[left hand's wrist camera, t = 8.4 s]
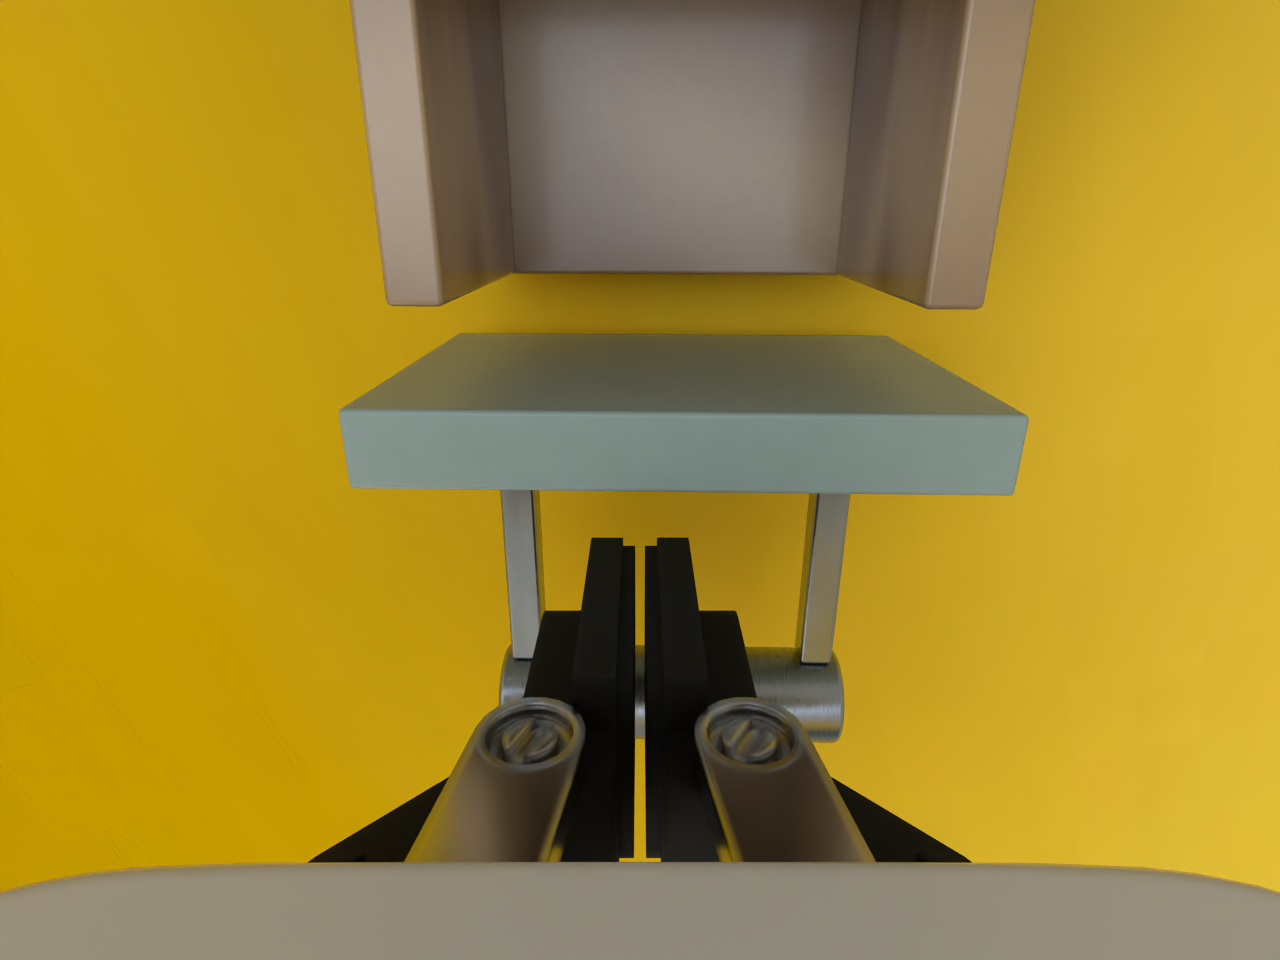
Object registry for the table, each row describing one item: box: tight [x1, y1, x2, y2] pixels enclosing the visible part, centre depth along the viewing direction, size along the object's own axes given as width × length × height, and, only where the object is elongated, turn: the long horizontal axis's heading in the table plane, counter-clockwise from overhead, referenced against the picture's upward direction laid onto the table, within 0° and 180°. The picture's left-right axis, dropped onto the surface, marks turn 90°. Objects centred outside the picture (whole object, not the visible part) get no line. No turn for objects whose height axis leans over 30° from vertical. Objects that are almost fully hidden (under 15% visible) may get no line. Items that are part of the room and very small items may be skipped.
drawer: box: [339, 0, 1035, 743], centre depth 12 cm, size 19×10×6 cm, turn 0°
